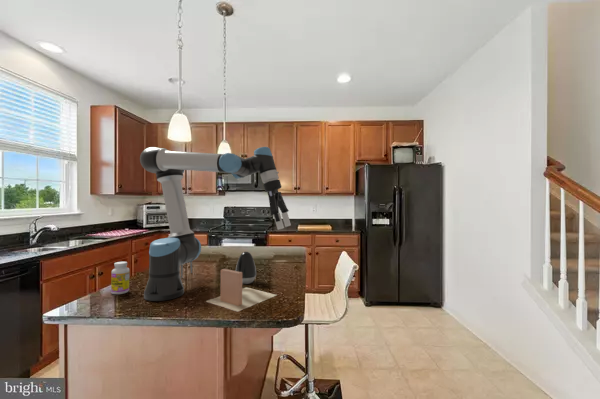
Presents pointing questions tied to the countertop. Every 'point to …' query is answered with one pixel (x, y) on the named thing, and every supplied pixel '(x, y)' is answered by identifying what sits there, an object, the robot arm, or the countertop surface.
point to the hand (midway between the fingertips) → (284, 227)
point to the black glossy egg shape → (246, 267)
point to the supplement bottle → (120, 278)
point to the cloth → (244, 299)
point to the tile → (231, 287)
